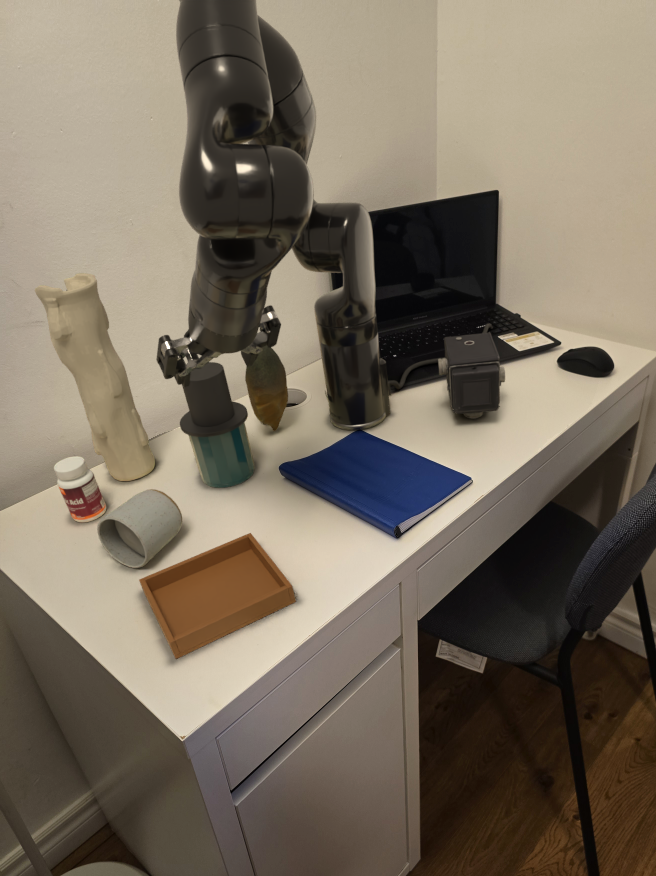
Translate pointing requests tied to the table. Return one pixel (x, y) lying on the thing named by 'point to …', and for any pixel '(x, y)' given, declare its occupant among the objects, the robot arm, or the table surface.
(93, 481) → the pill bottle
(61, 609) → the table surface
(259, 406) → the decorative stone
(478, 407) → the camera
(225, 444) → the cup
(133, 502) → the ceramic mug
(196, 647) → the tray
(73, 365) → the vase
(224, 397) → the flanged dark cylinder
